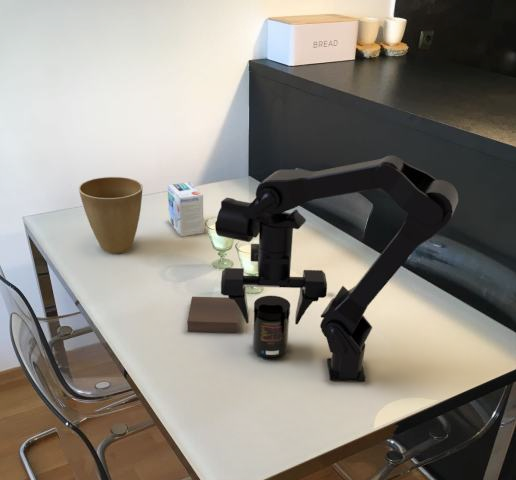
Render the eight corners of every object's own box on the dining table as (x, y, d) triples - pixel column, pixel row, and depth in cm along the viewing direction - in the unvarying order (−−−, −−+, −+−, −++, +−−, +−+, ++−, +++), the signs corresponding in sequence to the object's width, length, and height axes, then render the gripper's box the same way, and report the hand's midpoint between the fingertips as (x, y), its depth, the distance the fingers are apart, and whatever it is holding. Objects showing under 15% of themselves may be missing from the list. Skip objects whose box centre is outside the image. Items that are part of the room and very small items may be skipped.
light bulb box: (168, 222, 166) (166, 184, 160) (191, 218, 168) (190, 181, 162) (181, 237, 158) (179, 197, 152) (204, 233, 160) (204, 194, 154)
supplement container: (282, 339, 119) (285, 293, 113) (291, 359, 114) (294, 312, 108) (249, 343, 118) (250, 297, 112) (256, 362, 112) (258, 315, 106)
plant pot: (89, 263, 144) (80, 200, 135) (86, 238, 155) (77, 178, 146) (151, 257, 147) (146, 195, 138) (143, 233, 159) (138, 174, 150)
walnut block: (237, 333, 120) (237, 322, 119) (187, 331, 120) (187, 321, 119) (238, 307, 129) (238, 297, 127) (192, 306, 129) (191, 296, 127)
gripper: (324, 228, 110) (317, 302, 119) (223, 226, 110) (224, 300, 118) (330, 255, 101) (322, 332, 110) (220, 252, 100) (221, 330, 109)
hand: (271, 322), depth 112 cm, fingers open, 9 cm apart
